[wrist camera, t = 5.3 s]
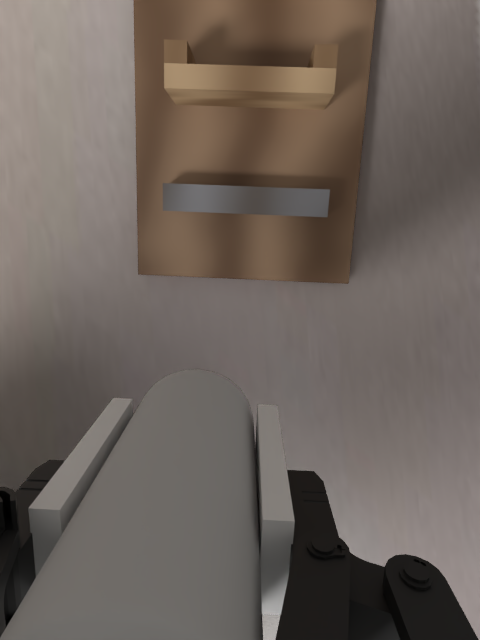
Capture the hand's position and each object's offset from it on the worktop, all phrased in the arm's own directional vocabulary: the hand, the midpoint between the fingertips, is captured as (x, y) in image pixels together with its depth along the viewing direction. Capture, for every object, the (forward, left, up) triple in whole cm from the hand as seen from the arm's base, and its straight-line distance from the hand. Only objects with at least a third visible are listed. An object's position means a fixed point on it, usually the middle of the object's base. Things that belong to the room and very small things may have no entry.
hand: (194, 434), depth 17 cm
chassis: (+1, +15, -14) cm, 21 cm away
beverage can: (0, 0, -2) cm, 2 cm away
